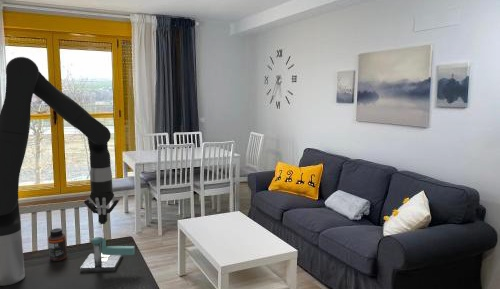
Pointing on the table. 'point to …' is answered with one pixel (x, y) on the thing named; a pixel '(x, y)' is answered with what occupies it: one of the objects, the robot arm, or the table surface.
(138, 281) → the table surface
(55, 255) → the supplement bottle
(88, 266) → the plate
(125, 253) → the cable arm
